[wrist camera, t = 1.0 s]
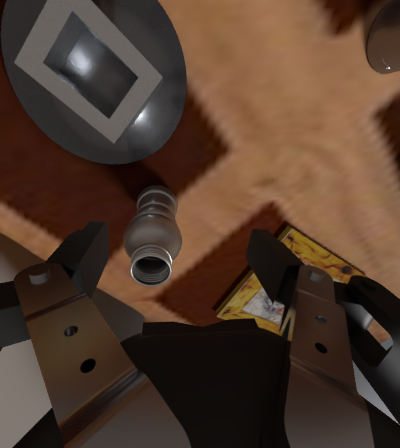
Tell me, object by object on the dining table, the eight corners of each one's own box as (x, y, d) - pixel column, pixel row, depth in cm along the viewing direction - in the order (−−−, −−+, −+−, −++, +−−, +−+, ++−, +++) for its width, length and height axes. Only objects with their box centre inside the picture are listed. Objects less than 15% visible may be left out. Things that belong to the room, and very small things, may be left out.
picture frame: (298, 345, 60) (216, 316, 49) (294, 338, 62) (214, 309, 51) (370, 279, 52) (292, 228, 42) (363, 274, 54) (286, 224, 44)
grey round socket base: (69, -102, 21) (40, -170, 16) (216, 78, 30) (226, 69, 25) (-23, 81, 26) (-66, 71, 21) (126, 190, 35) (120, 201, 30)
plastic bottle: (167, 222, 39) (169, 305, 21) (132, 206, 36) (100, 286, 18) (183, 192, 37) (201, 257, 19) (147, 174, 34) (129, 228, 16)
